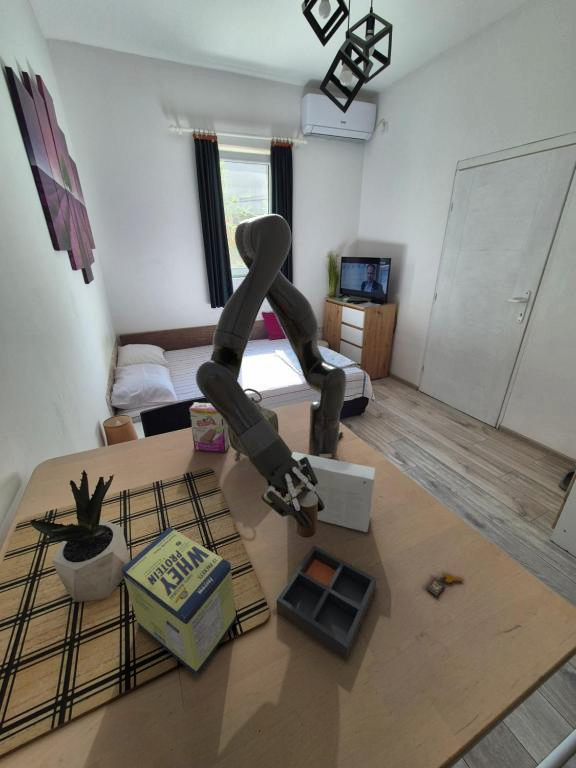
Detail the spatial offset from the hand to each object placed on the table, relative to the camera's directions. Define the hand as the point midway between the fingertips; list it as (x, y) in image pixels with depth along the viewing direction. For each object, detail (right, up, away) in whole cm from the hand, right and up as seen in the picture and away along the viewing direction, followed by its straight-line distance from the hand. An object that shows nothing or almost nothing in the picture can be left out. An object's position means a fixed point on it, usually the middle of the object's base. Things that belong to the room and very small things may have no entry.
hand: (314, 517), depth 63 cm
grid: (+3, -17, +1) cm, 17 cm away
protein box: (-24, -19, -3) cm, 31 cm away
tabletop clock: (-16, +2, +44) cm, 47 cm away
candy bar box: (-31, +4, +49) cm, 58 cm away
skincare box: (+5, -8, +22) cm, 24 cm away
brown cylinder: (-2, -3, +3) cm, 5 cm away
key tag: (+27, -16, +4) cm, 32 cm away
